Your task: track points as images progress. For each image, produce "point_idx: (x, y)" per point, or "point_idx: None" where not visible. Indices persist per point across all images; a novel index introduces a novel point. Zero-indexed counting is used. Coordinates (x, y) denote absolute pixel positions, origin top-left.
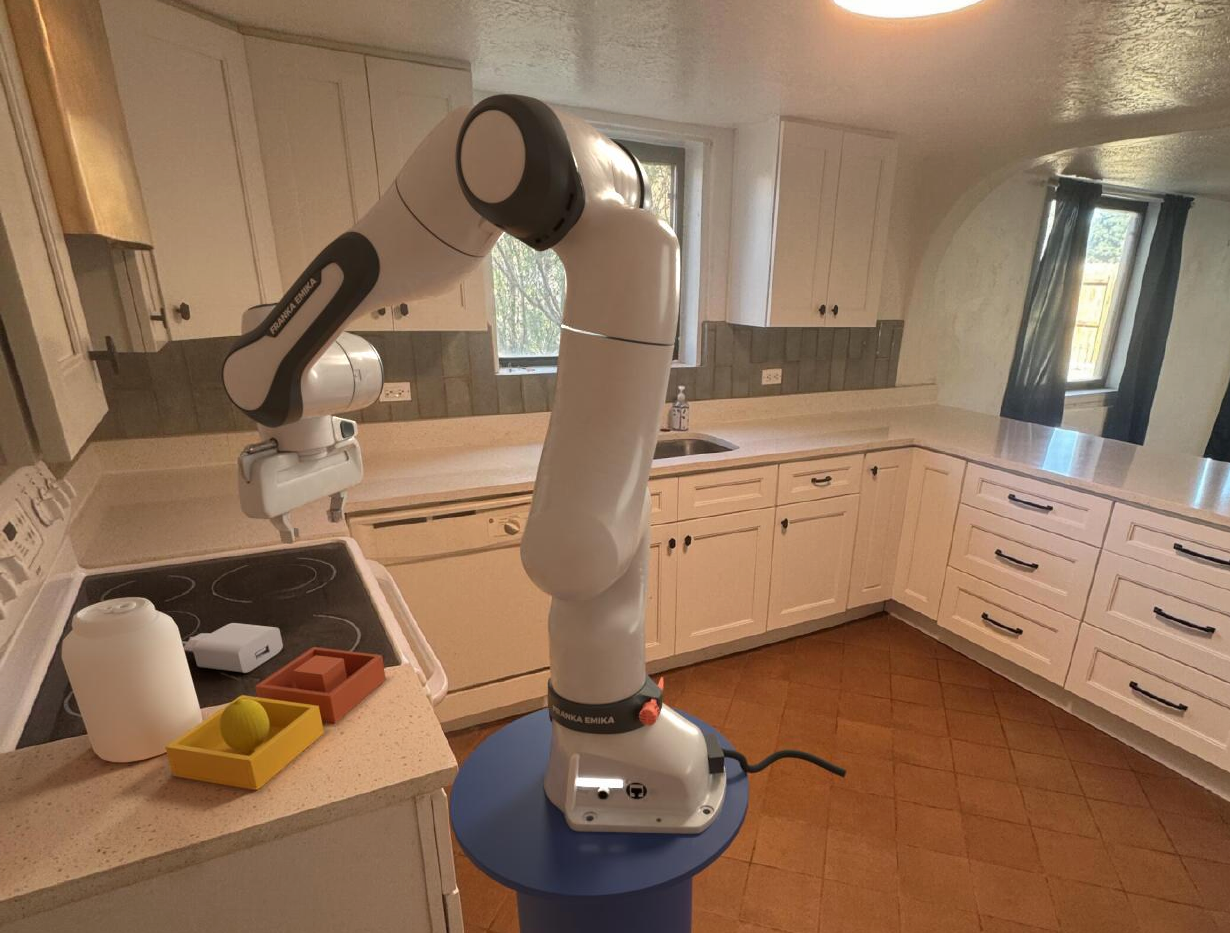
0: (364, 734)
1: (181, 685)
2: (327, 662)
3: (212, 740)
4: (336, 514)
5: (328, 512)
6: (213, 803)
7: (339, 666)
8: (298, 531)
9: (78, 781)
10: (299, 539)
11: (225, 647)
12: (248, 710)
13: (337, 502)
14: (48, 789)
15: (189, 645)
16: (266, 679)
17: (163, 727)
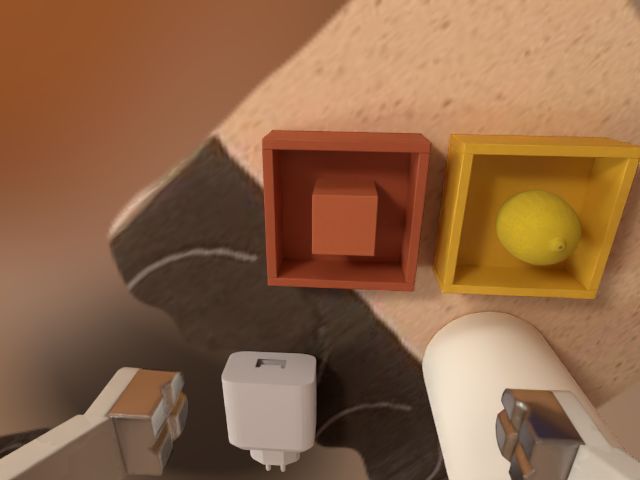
0: (447, 58)
1: (507, 365)
2: (333, 215)
3: (512, 272)
4: (160, 407)
5: (164, 456)
6: (633, 180)
7: (328, 192)
8: (531, 424)
9: (575, 368)
10: (507, 389)
11: (307, 406)
12: (565, 219)
13: (70, 478)
14: (590, 385)
15: (293, 456)
16: (390, 288)
17: (533, 338)
